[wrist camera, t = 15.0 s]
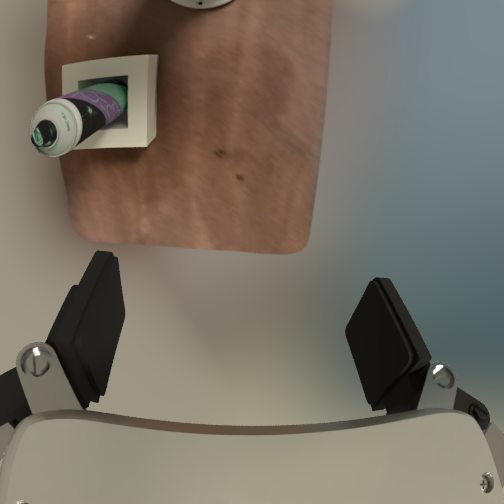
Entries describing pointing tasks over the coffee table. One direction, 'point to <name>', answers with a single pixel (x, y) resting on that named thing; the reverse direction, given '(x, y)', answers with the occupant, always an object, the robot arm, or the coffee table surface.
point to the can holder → (139, 98)
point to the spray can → (77, 116)
